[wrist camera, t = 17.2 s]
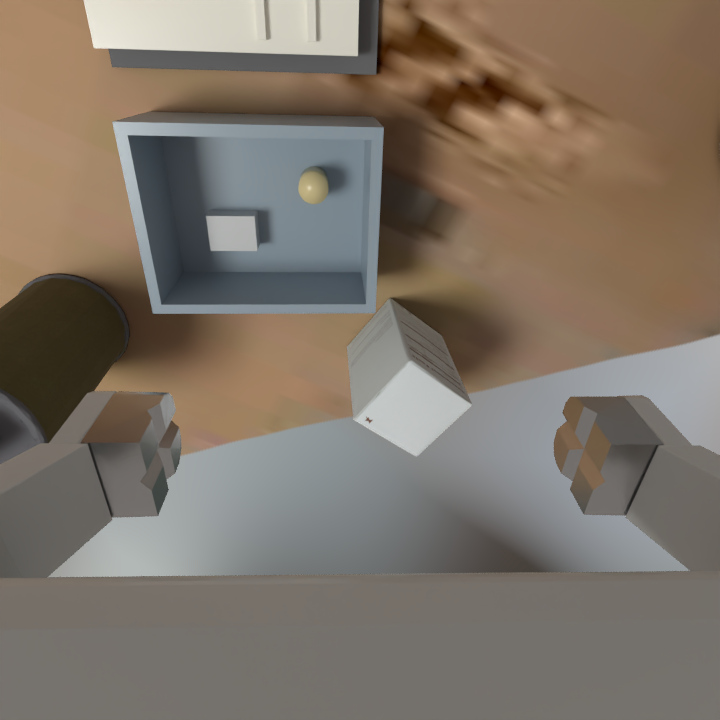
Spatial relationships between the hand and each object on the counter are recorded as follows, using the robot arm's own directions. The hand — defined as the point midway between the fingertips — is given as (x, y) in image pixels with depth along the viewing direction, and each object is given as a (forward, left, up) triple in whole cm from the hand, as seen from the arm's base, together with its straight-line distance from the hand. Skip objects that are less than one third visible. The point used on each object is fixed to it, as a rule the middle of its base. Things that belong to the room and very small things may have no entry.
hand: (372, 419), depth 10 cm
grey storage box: (+6, +4, -37) cm, 37 cm away
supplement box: (-6, +18, -37) cm, 42 cm away
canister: (+26, +16, -37) cm, 48 cm away
